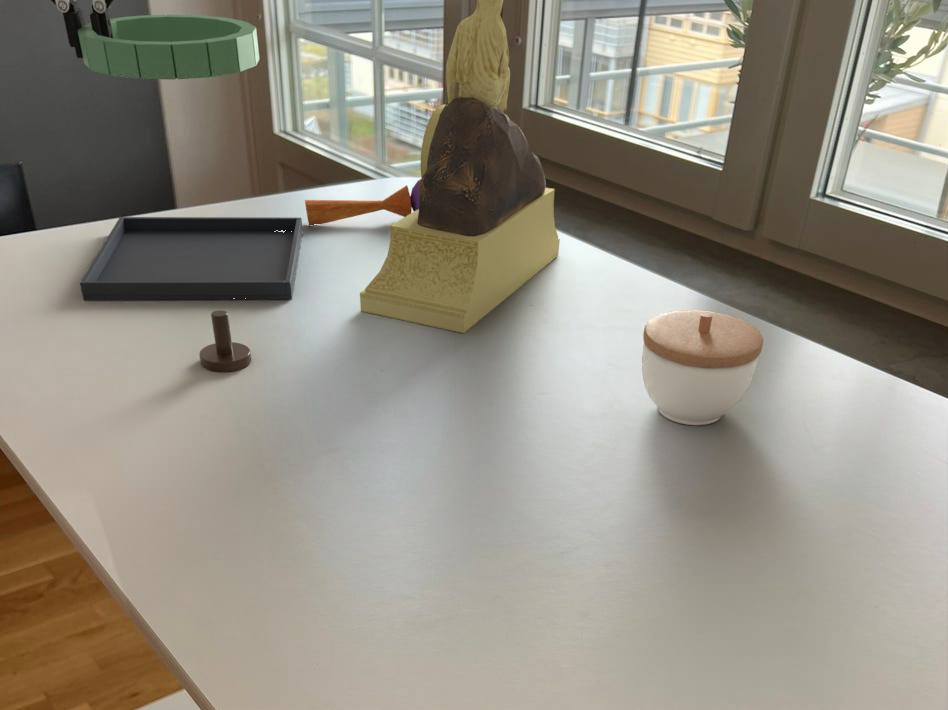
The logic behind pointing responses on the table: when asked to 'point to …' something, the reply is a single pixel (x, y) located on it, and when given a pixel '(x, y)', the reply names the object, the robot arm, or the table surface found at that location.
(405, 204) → the kendama
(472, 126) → the statue on pedestal
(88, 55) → the ring
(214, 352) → the peg stand
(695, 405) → the trinket box
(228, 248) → the tray
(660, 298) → the table surface
